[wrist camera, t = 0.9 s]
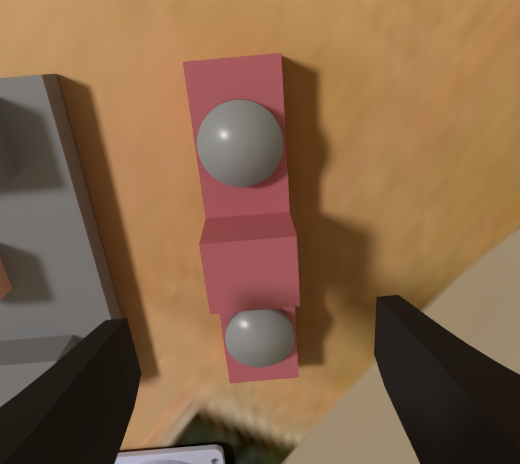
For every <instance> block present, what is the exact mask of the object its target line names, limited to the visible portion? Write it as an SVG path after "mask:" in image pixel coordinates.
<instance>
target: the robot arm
mask: <svg viewBox="0 0 520 464" xmlns="http://www.w3.org/2000/svg"><path fill="white" fill-rule="evenodd" d="M374 354H375V358H376V361H377V364H378V368H379V371H380V374H381V377H382V379H383V382H384V386H385V388H386V390H387V393H388V395H389V397H390V399H391V401H392V404H393V406H394V408H395V410H396V412H397V414H398V417H399V419H400V421H401V423H402V425H403V427H404V429H405V432H406V434H407V436H408V438H409V440H410V442H411V445H412V447H413V449H414V451H415V453H416V455H417V458H418V460H419V462H420V464H520V375H519V374H517V373H515V372H514V371H512V370H510V369H508V368H506V367H504V366H503V365H501V364H499V363H498V362H496V361H494V360H493V359H491V358H489V357H488V356H486V355H484V354H483V353H481V352H480V351H478V350H476V349H475V348H473V347H471V346H470V345H468V344H467V343H465V342H464V341H462V340H461V339H459V338H458V337H456V336H455V335H453V334H452V333H450V332H449V331H447V330H446V329H445V328H443V327H442V326H440V325H439V324H438V323H436V322H435V321H433V320H432V319H431V318H429V317H428V316H427V315H425V314H424V313H422V312H421V311H420V310H418V309H417V308H416V307H414V306H413V305H412V304H410V303H409V302H407V301H406V300H405V299H403V298H402V297H400V296H399V295H393V296H382V297H377V303H376V325H375V347H374ZM140 377H141V371H140V367H139V363H138V359H137V356H136V352H135V348H134V344H133V341H132V337H131V333H130V329H129V326H128V322H127V318H124V319H112V320H105V321H104V322H102V323H101V324H100V325H99V326H97V327H96V328H95V329H94V330H93V331H92V332H90V333H89V334H88V335H87V336H86V337H85V338H84V339H82V340H81V341H80V342H79V343H78V344H77V345H76V346H75V347H73V348H72V349H71V350H70V351H69V352H68V353H67V354H65V355H64V356H63V357H62V358H61V359H60V360H58V361H57V362H56V363H55V364H54V365H53V366H52V367H50V368H49V369H48V370H47V371H45V372H44V373H43V374H42V375H41V376H39V377H38V378H37V379H36V380H34V381H33V382H32V383H31V384H29V385H28V386H27V387H26V388H24V389H23V390H22V391H21V392H19V393H18V394H17V395H16V396H14V397H13V398H12V399H10V400H9V401H8V402H6V403H5V404H4V405H2V406H1V407H0V464H225V458H224V452H223V448H222V447H221V446H219V445H203V446H191V447H179V448H167V449H155V450H143V451H132V452H120V453H119V450H120V447H121V444H122V441H123V439H124V436H125V433H126V430H127V427H128V424H129V421H130V418H131V415H132V412H133V409H134V406H135V401H136V397H137V392H138V387H139V382H140Z"/></svg>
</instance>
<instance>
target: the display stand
mask: <svg viewBox="0 0 520 464" xmlns="http://www.w3.org/2000/svg"><path fill="white" fill-rule="evenodd" d="M112 319H122V315H121V312H120V308H119V304H118V301H117V297H116V293H115V289H114V286H113V282H112V278H111V275H110V271H109V267H108V263H107V260H106V256H105V252H104V249H103V245H102V241H101V238H100V234H99V230H98V226H97V223H96V219H95V215H94V212H93V208H92V204H91V200H90V197H89V193H88V189H87V186H86V182H85V178H84V175H83V171H82V167H81V163H80V160H79V156H78V152H77V149H76V145H75V141H74V137H73V134H72V130H71V126H70V123H69V119H68V115H67V112H66V108H65V104H64V100H63V97H62V93H61V89H60V86H59V82H58V78H57V74H47V75H34V76H23V77H12V78H1V79H0V407H1V406H2V405H4V404H5V403H6V402H8V401H9V400H10V399H12V398H13V397H14V396H16V395H17V394H18V393H19V392H21V391H22V390H23V389H24V388H26V387H27V386H28V385H29V384H31V383H32V382H33V381H34V380H36V379H37V378H38V377H39V376H41V375H42V374H43V373H44V372H45V371H47V370H48V369H49V368H50V367H52V366H53V365H54V364H55V363H56V362H57V361H58V360H60V359H61V358H62V357H63V356H64V355H65V354H67V353H68V352H69V351H70V350H71V349H72V348H73V347H75V346H76V345H77V344H78V343H79V342H80V341H81V340H82V339H84V338H85V337H86V336H87V335H88V334H89V333H90V332H92V331H93V330H94V329H95V328H96V327H97V326H99V325H100V324H101V323H102V322H104V321H105V320H112Z"/></svg>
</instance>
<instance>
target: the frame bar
mask: <svg viewBox="0 0 520 464" xmlns="http://www.w3.org/2000/svg"><path fill="white" fill-rule="evenodd" d="M183 66H184V73H185V80H186V87H187V93H188V100H189V107H190V114H191V121H192V128H193V134H194V141H195V148H196V155H197V162H198V168H199V175H200V182H201V189H202V196H203V203H204V209H205V216H206V220H205V224H204V228H203V232H202V236H201V239H200V243H199V246H200V253H201V259H202V265H203V272H204V278H205V284H206V291H207V297H208V303H209V310H210V314H218V313H220V319H221V325H222V332H223V339H224V346H225V353H226V360H227V366H228V373H229V380H230V383H238V382H249V381H261V380H273V379H284V378H296V377H299V373H298V355H297V336H296V318H295V307H299V306H300V292H299V271H298V250H297V235H296V231H295V228H294V224H293V221H292V217H291V214H290V206H289V188H288V169H287V150H286V132H285V113H284V95H283V76H282V57H281V53H278V54H266V55H255V56H244V57H233V58H221V59H210V60H199V61H187V62H183Z"/></svg>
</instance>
